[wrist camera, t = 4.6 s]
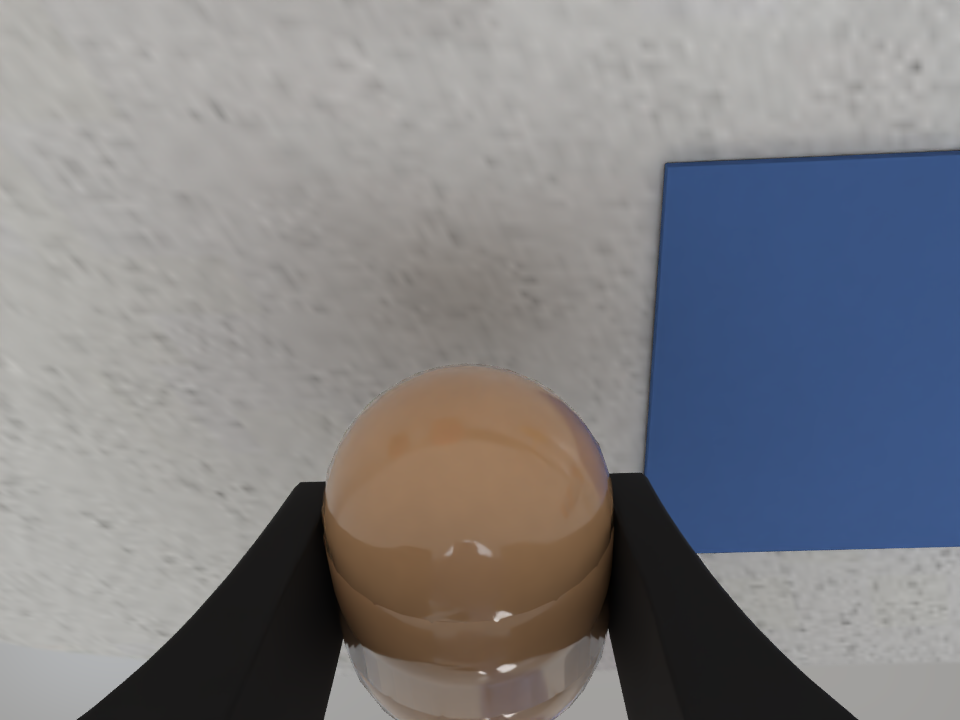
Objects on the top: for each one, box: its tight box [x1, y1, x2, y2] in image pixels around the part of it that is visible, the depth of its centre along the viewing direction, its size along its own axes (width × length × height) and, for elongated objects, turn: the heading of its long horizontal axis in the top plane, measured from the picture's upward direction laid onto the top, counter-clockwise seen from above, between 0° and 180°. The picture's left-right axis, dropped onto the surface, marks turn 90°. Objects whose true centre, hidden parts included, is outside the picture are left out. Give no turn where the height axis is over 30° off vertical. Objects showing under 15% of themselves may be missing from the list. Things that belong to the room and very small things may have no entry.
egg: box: [322, 364, 614, 720], centre depth 13 cm, size 6×4×4 cm
